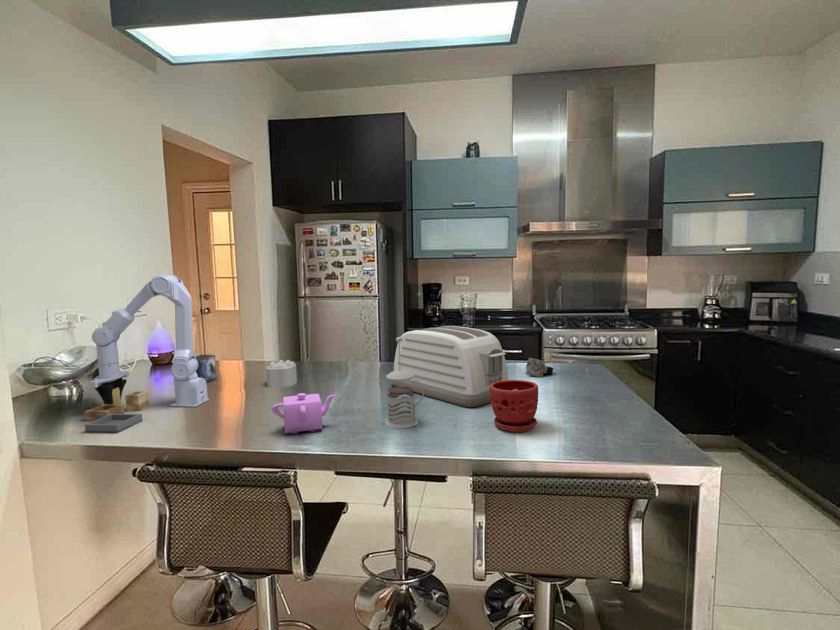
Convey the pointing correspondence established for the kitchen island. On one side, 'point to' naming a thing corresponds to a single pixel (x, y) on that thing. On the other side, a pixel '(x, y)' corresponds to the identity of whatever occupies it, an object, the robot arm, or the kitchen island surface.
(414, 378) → the toaster
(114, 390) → the gold rectangular block
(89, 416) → the brown rectangular frame
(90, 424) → the tray
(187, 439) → the kitchen island surface
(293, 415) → the teapot
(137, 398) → the block
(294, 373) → the lumpy-topped squat cylinder
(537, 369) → the mottled grey-brown block
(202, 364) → the small box
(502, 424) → the plant pot
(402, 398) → the french press
